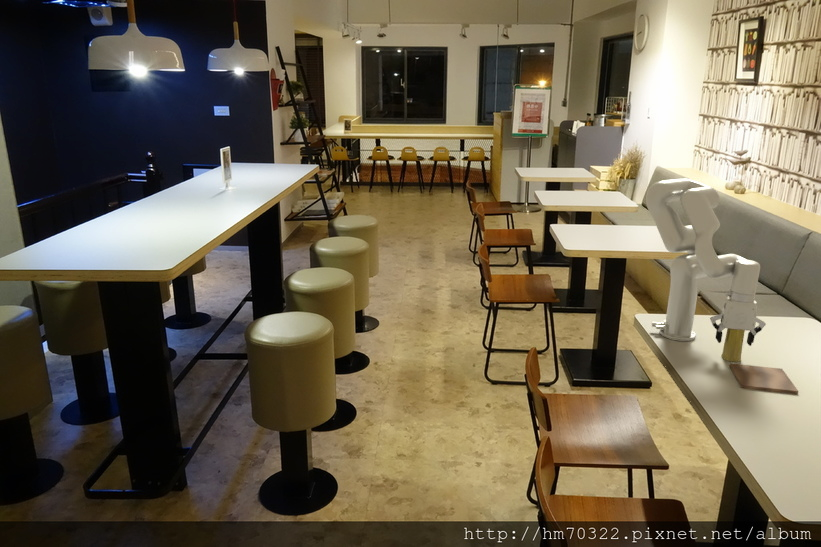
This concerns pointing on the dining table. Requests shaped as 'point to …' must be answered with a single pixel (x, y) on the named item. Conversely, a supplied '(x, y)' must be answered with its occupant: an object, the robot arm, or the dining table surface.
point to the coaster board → (763, 378)
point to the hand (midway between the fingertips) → (733, 342)
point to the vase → (733, 345)
